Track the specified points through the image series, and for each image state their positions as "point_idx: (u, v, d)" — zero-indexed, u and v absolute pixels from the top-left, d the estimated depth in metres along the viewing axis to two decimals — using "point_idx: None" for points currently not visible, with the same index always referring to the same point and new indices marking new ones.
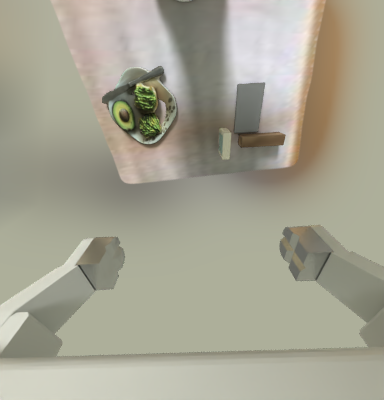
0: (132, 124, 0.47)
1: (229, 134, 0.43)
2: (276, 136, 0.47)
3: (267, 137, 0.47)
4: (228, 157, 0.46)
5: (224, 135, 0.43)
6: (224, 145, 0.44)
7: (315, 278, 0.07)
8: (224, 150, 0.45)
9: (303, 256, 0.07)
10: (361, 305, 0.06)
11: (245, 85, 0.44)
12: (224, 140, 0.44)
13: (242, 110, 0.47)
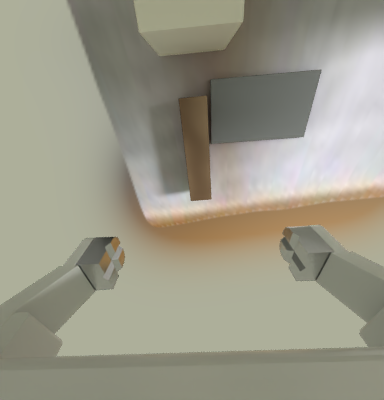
0: None
1: (237, 12, 0.11)
2: (208, 183, 0.21)
3: (206, 164, 0.20)
4: (145, 24, 0.11)
5: None
6: None
7: (315, 278, 0.07)
8: None
9: (303, 256, 0.07)
10: (361, 305, 0.06)
11: (312, 91, 0.19)
12: None
13: (261, 94, 0.19)
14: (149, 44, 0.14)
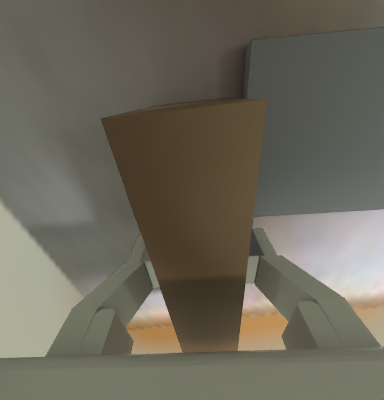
0: None
1: None
2: (232, 339, 0.08)
3: (230, 313, 0.06)
4: None
5: None
6: None
7: (253, 281, 0.07)
8: None
9: None
10: (286, 308, 0.06)
11: None
12: None
13: None
14: None
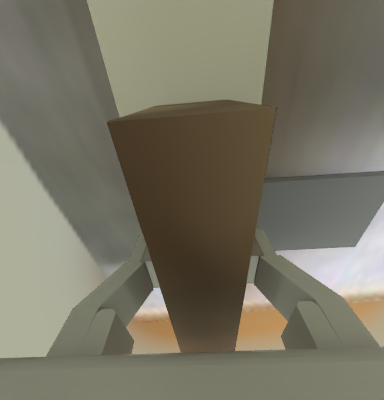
0: None
1: None
2: (230, 339, 0.08)
3: (230, 314, 0.07)
4: None
5: None
6: None
7: (253, 281, 0.07)
8: None
9: None
10: (285, 308, 0.06)
11: (380, 198, 0.12)
12: None
13: (300, 202, 0.12)
14: None
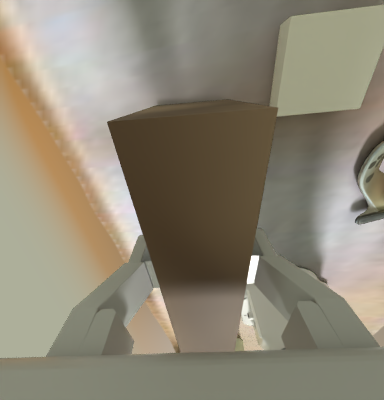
0: None
1: None
2: (230, 340, 0.08)
3: (230, 315, 0.06)
4: None
5: None
6: None
7: (253, 281, 0.07)
8: None
9: None
10: (285, 308, 0.06)
11: None
12: None
13: None
14: (357, 8, 0.13)
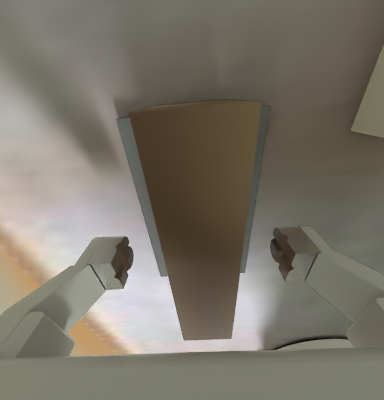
0: None
1: None
2: (228, 319, 0.08)
3: (227, 292, 0.07)
4: None
5: None
6: None
7: (304, 278, 0.07)
8: None
9: (291, 257, 0.07)
10: (347, 305, 0.06)
11: None
12: None
13: None
14: None
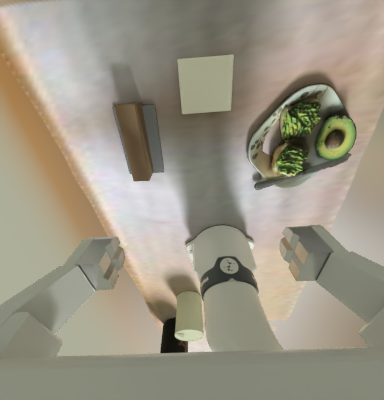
0: (328, 123, 0.29)
1: None
2: (144, 167, 0.29)
3: (141, 153, 0.27)
4: None
5: None
6: None
7: (315, 278, 0.07)
8: None
9: (303, 256, 0.07)
10: (361, 305, 0.06)
11: (154, 170, 0.34)
12: None
13: (149, 141, 0.31)
14: (211, 56, 0.23)
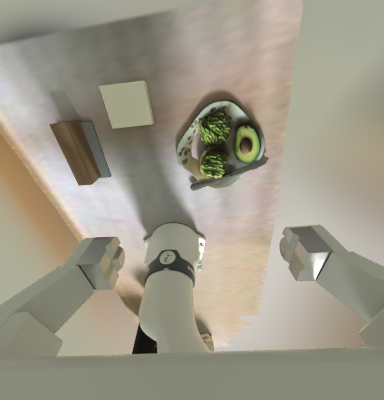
0: (239, 132, 0.33)
1: (152, 121, 0.33)
2: (85, 173, 0.34)
3: (79, 162, 0.33)
4: (144, 84, 0.29)
5: (153, 119, 0.34)
6: (150, 105, 0.32)
7: (315, 278, 0.07)
8: (148, 97, 0.31)
9: (303, 256, 0.07)
10: (361, 305, 0.06)
11: (101, 176, 0.39)
12: (151, 113, 0.33)
13: (92, 151, 0.36)
14: None
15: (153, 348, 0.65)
